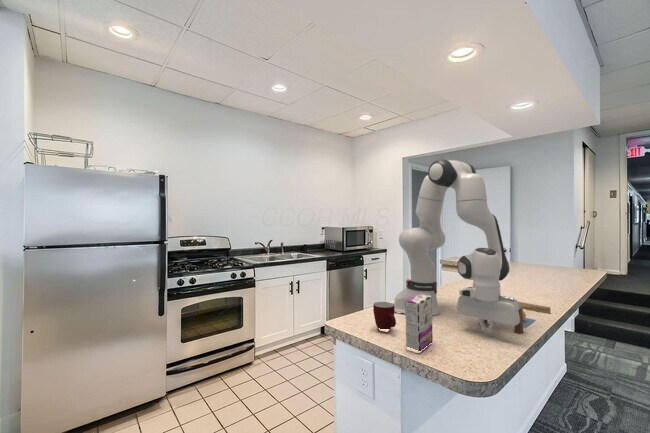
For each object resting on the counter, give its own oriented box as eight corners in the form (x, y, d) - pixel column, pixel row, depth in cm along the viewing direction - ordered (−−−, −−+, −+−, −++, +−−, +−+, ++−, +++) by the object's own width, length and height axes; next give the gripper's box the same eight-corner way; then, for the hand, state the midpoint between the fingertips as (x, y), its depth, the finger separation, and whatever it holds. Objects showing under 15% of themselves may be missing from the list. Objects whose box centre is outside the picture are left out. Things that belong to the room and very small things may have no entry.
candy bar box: (419, 339, 107) (418, 293, 107) (433, 343, 103) (432, 295, 103) (405, 350, 98) (404, 300, 98) (419, 354, 95) (419, 302, 95)
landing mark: (525, 327, 117) (525, 327, 117) (490, 319, 127) (490, 319, 127) (535, 320, 125) (535, 319, 125) (501, 313, 135) (501, 312, 135)
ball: (519, 318, 128) (514, 325, 125) (510, 307, 129) (505, 314, 126) (530, 314, 124) (526, 321, 120) (520, 303, 125) (516, 310, 122)
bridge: (520, 334, 110) (519, 309, 111) (479, 324, 121) (479, 301, 122) (523, 332, 112) (522, 307, 113) (482, 322, 123) (482, 300, 124)
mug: (404, 333, 113) (404, 306, 113) (388, 338, 108) (388, 310, 108) (384, 325, 121) (384, 300, 122) (369, 329, 117) (369, 303, 117)
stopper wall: (549, 313, 134) (549, 308, 134) (509, 306, 146) (509, 301, 146) (550, 312, 135) (550, 307, 135) (510, 305, 147) (510, 300, 147)
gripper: (522, 297, 103) (522, 337, 103) (462, 287, 118) (463, 322, 118) (516, 300, 99) (516, 342, 99) (455, 290, 114) (455, 326, 114)
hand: (487, 331), depth 109 cm, fingers closed
